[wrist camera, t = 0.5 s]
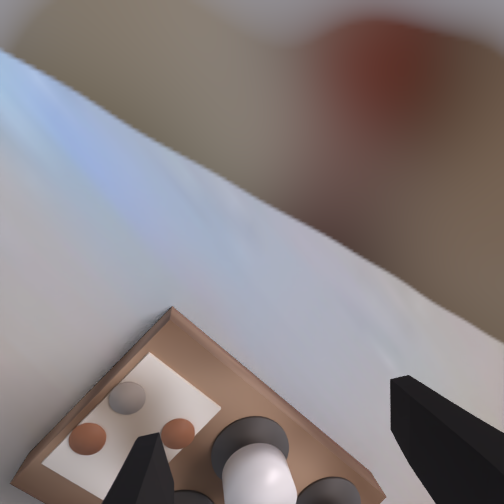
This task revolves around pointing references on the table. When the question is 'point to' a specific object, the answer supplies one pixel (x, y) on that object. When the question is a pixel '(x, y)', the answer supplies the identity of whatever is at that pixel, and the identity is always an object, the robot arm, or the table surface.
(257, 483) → the button
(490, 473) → the robot arm
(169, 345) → the button board
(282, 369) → the table surface
